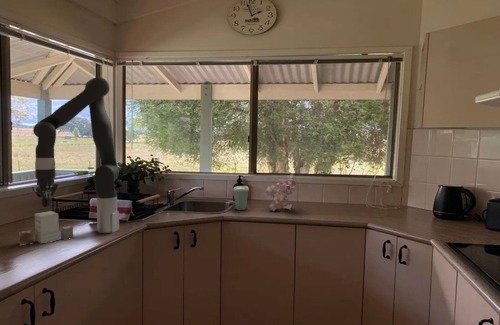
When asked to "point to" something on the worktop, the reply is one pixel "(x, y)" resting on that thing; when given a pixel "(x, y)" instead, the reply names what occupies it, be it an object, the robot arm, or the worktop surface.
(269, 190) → the flower
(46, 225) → the supplement box
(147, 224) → the worktop surface
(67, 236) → the slate marked cylinder
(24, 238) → the walnut marked block
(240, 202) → the disposable coffee cup
